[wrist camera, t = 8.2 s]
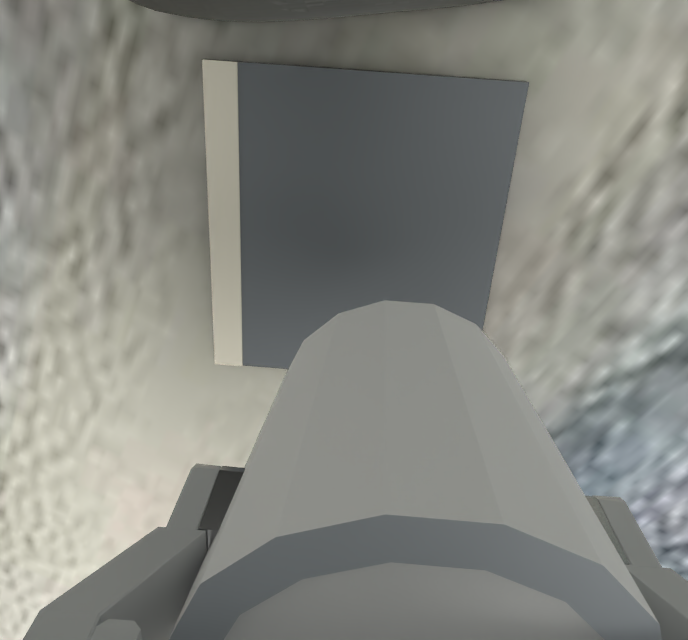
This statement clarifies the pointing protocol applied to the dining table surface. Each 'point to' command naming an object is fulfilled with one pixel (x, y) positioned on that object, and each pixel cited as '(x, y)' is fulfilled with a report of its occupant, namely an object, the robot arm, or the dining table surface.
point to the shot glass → (409, 503)
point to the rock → (291, 8)
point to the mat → (349, 196)
